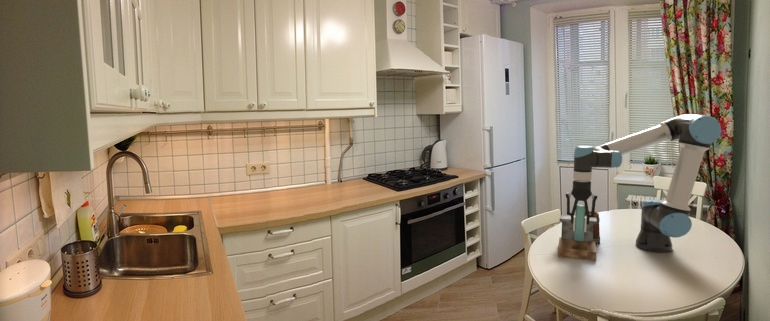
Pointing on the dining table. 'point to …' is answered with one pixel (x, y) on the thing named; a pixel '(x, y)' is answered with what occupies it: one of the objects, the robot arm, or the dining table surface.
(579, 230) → the peg
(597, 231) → the mug
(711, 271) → the dining table surface
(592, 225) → the socket block
